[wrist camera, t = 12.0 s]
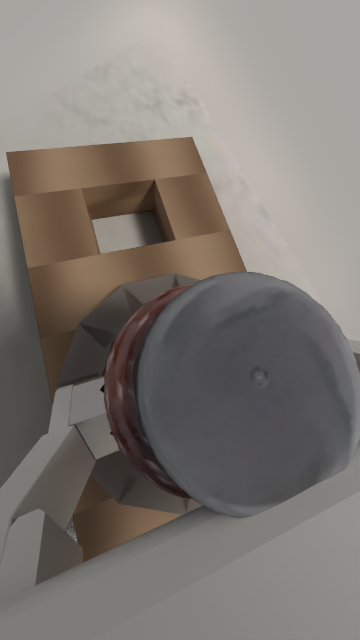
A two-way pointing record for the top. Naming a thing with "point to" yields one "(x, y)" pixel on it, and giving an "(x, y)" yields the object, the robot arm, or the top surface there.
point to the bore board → (113, 286)
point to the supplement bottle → (234, 393)
